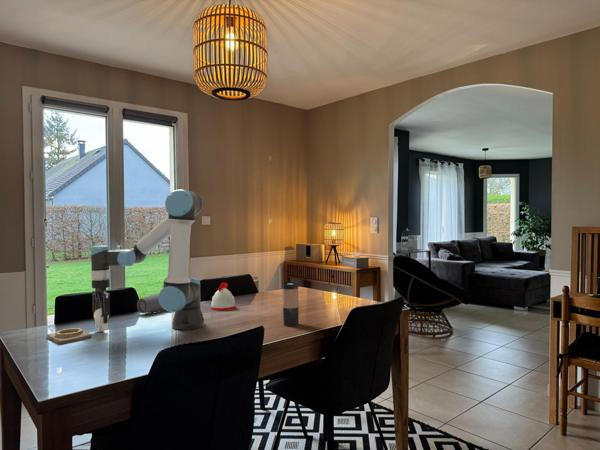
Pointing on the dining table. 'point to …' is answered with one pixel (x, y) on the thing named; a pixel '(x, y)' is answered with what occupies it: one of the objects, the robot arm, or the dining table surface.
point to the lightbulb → (98, 318)
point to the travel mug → (290, 304)
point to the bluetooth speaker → (149, 304)
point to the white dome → (223, 299)
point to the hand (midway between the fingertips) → (101, 328)
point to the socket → (69, 335)
